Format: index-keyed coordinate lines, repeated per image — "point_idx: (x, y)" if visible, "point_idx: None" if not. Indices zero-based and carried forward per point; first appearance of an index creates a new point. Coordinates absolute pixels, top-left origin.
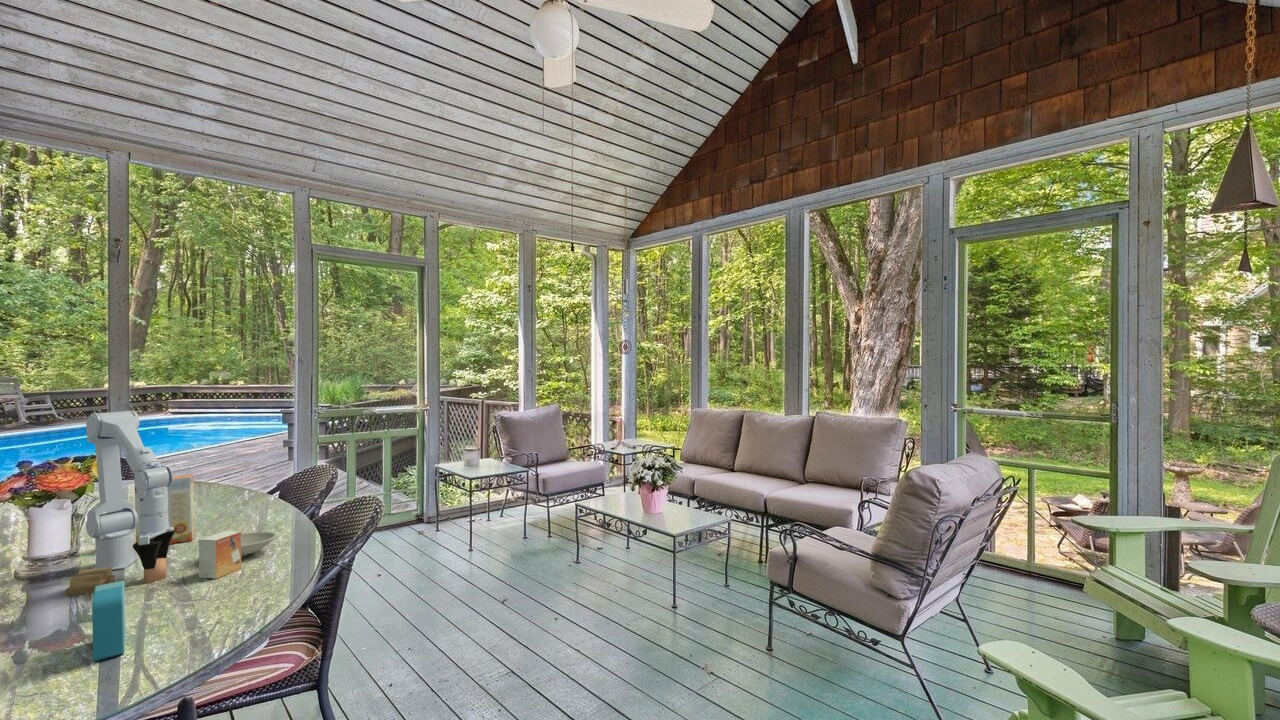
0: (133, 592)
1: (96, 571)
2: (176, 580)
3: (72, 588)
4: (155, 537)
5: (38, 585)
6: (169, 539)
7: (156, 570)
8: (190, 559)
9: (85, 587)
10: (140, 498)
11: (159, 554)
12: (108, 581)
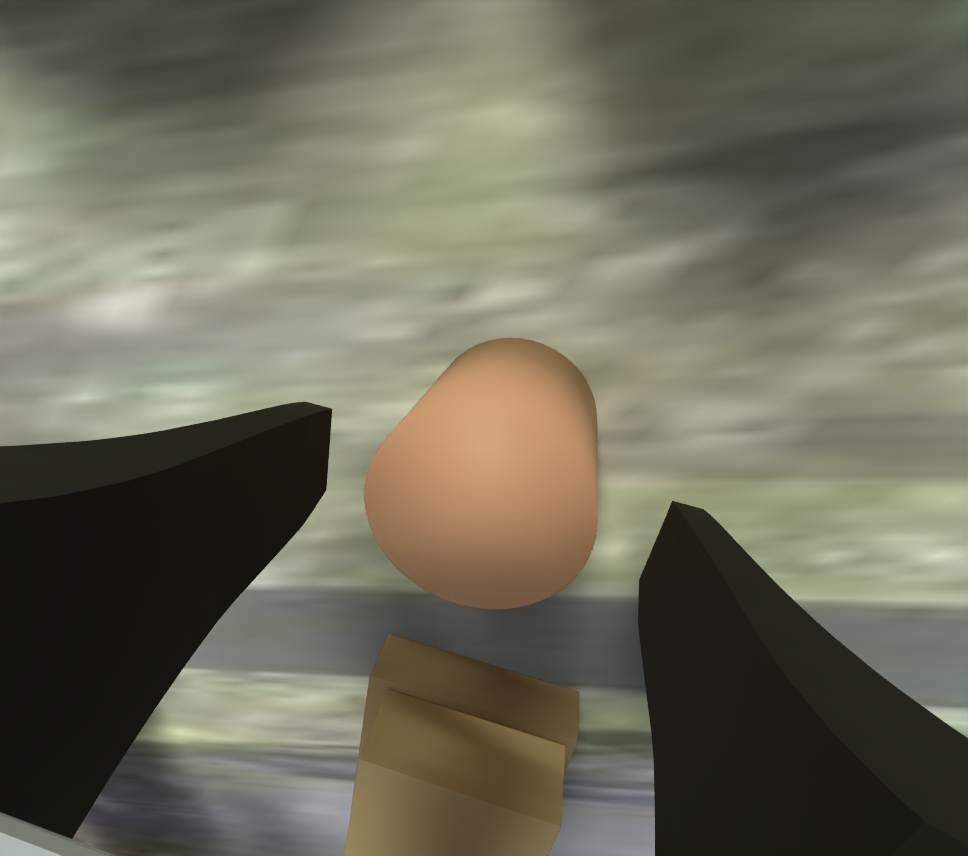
0: (782, 551)
1: (429, 828)
2: (690, 241)
3: None
4: (64, 750)
5: (251, 847)
6: (100, 491)
7: (594, 457)
8: (14, 172)
9: None
10: None
11: (291, 491)
12: (473, 695)
